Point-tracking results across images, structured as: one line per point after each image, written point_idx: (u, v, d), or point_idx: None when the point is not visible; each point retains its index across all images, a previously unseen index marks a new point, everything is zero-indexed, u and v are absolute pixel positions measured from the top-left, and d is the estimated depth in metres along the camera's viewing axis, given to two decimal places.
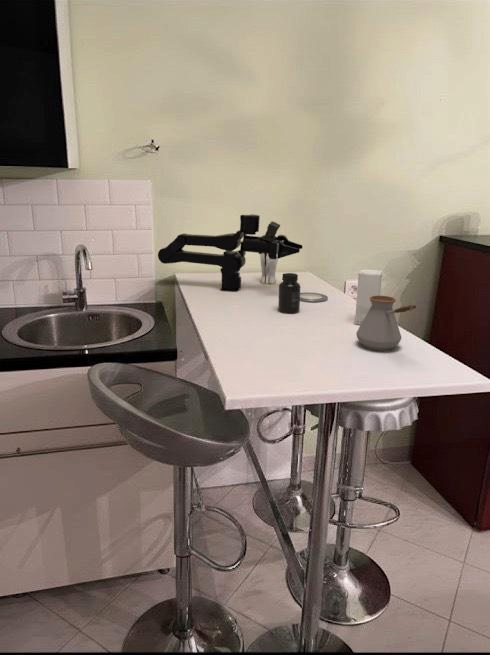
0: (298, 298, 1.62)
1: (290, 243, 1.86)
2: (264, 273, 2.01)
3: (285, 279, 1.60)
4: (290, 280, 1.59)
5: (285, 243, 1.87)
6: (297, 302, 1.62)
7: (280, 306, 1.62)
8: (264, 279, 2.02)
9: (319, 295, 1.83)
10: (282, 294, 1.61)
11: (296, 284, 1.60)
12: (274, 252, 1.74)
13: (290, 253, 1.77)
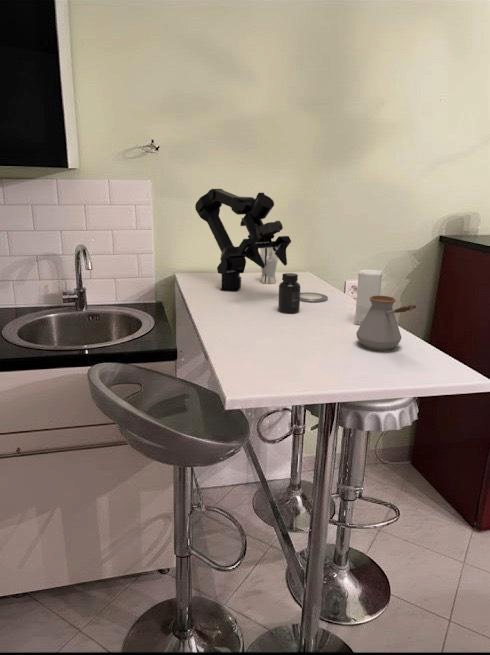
0: (298, 298, 1.62)
1: (282, 252, 1.71)
2: (264, 273, 2.01)
3: (285, 279, 1.60)
4: (290, 280, 1.59)
5: (280, 248, 1.72)
6: (297, 302, 1.62)
7: (280, 306, 1.62)
8: (264, 279, 2.02)
9: (319, 295, 1.83)
10: (282, 294, 1.61)
11: (296, 284, 1.60)
12: (241, 249, 1.65)
13: (256, 262, 1.66)
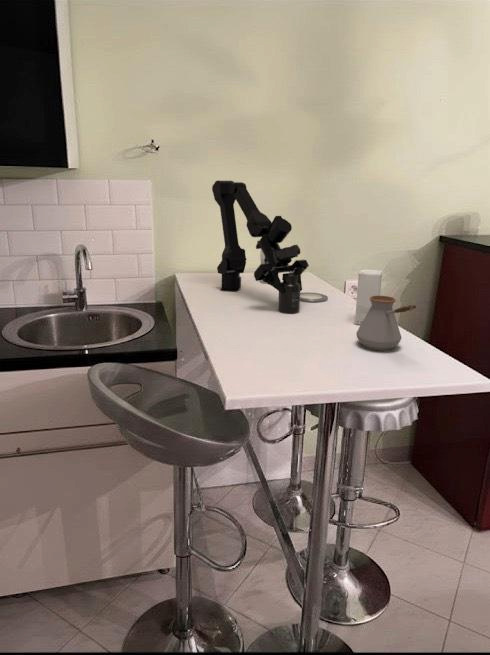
0: (298, 298, 1.62)
1: None
2: None
3: (285, 279, 1.60)
4: (290, 280, 1.59)
5: None
6: (297, 302, 1.62)
7: (280, 306, 1.62)
8: None
9: (319, 295, 1.83)
10: (282, 294, 1.61)
11: (296, 284, 1.60)
12: (257, 275, 1.60)
13: (276, 287, 1.61)
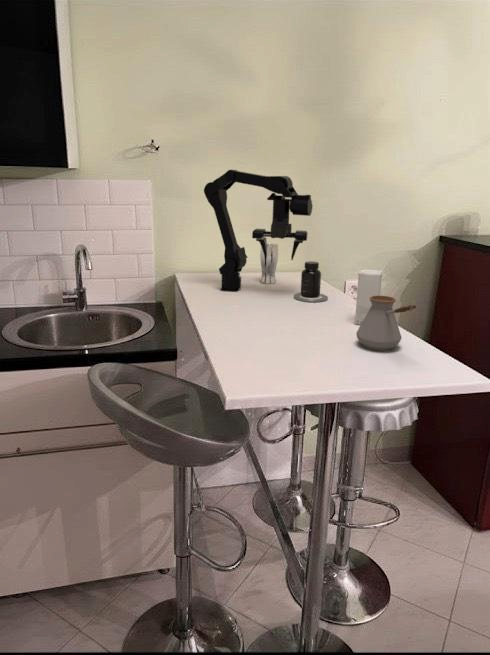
0: None
1: (293, 247, 1.78)
2: (264, 273, 2.01)
3: (311, 267, 1.76)
4: (316, 268, 1.76)
5: None
6: None
7: (308, 292, 1.78)
8: (264, 279, 2.02)
9: None
10: (310, 281, 1.77)
11: None
12: None
13: None
